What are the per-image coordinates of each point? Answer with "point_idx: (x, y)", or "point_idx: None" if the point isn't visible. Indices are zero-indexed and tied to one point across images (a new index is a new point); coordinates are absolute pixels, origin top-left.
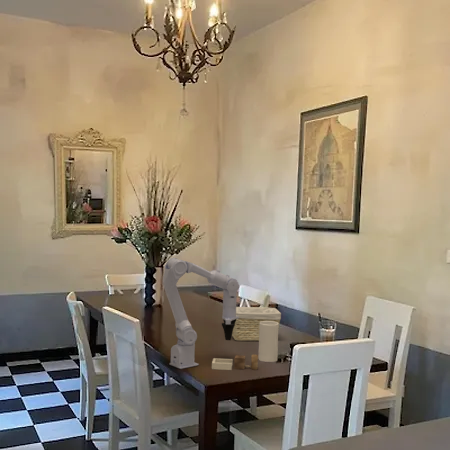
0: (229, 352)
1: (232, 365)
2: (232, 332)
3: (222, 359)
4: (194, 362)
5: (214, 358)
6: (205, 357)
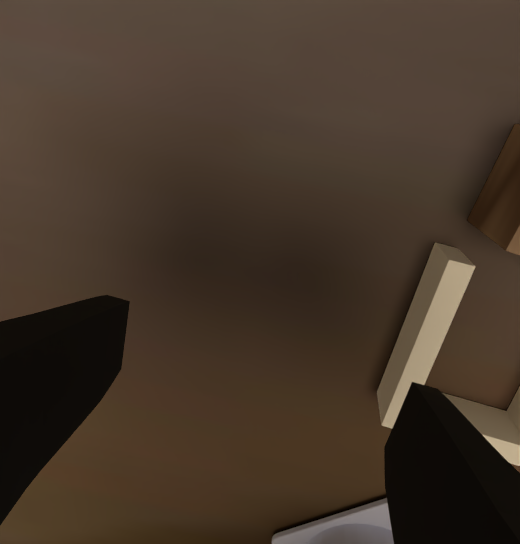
0: (8, 185)
1: (454, 248)
2: (97, 315)
3: (434, 359)
4: (347, 518)
5: (391, 420)
6: (175, 405)
